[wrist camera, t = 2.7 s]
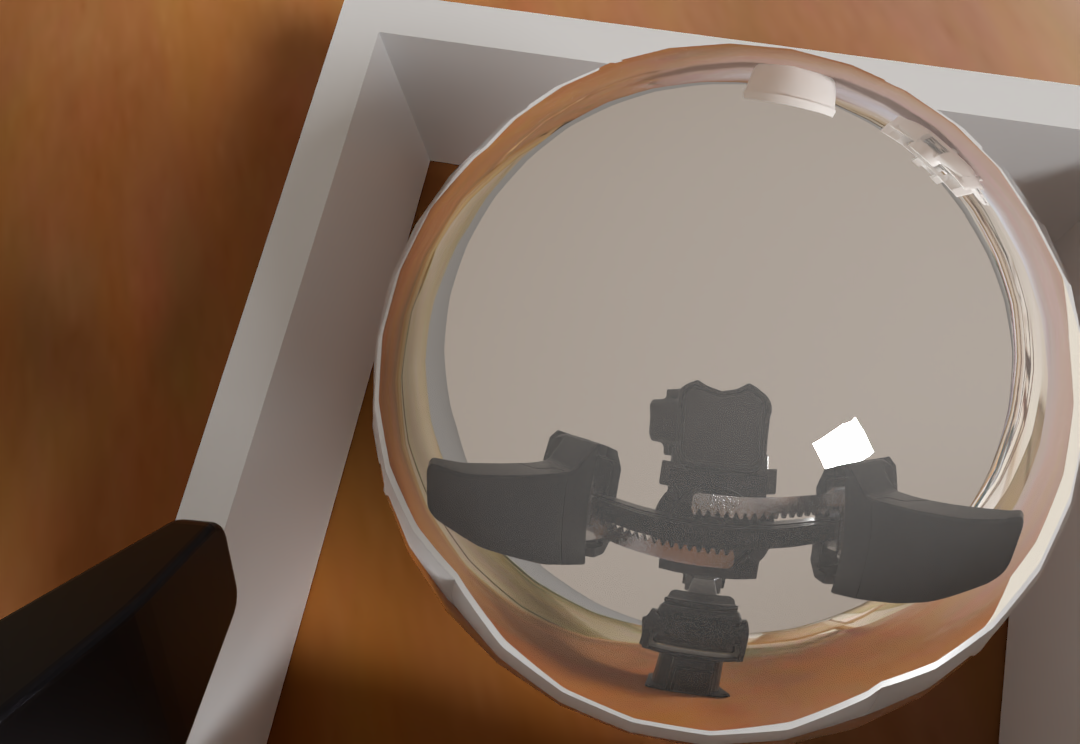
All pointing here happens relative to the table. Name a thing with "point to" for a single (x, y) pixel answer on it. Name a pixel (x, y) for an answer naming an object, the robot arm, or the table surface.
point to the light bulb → (729, 395)
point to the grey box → (377, 245)
